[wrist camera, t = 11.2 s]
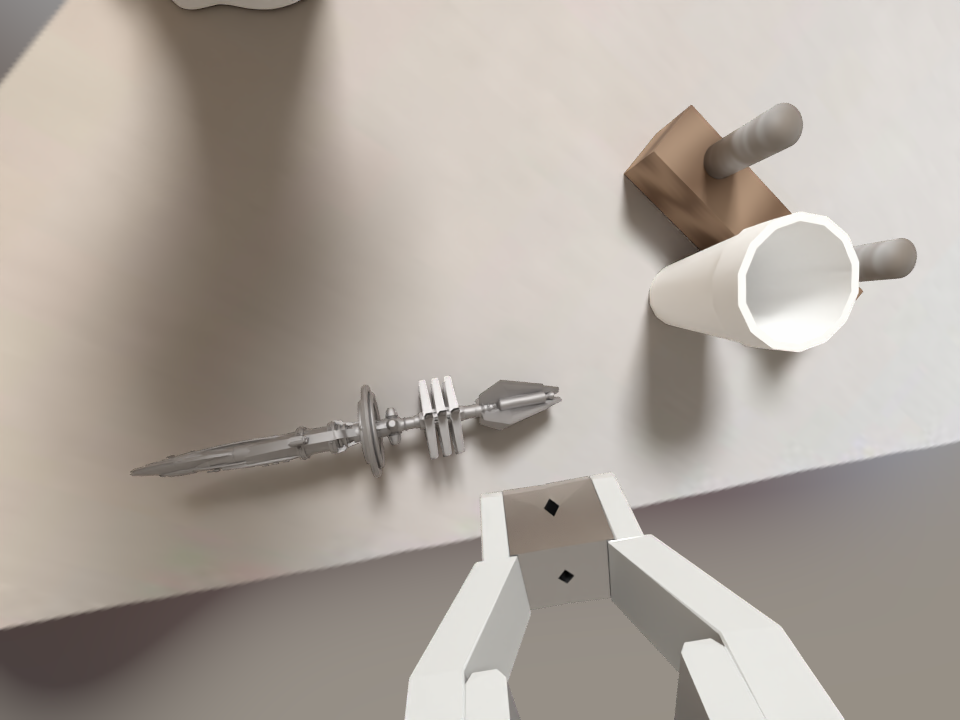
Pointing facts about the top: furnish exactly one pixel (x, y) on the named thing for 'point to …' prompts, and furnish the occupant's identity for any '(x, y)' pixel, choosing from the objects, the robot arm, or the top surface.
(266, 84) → the top surface
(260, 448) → the spaceship
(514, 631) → the robot arm
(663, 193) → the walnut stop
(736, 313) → the foam cup
